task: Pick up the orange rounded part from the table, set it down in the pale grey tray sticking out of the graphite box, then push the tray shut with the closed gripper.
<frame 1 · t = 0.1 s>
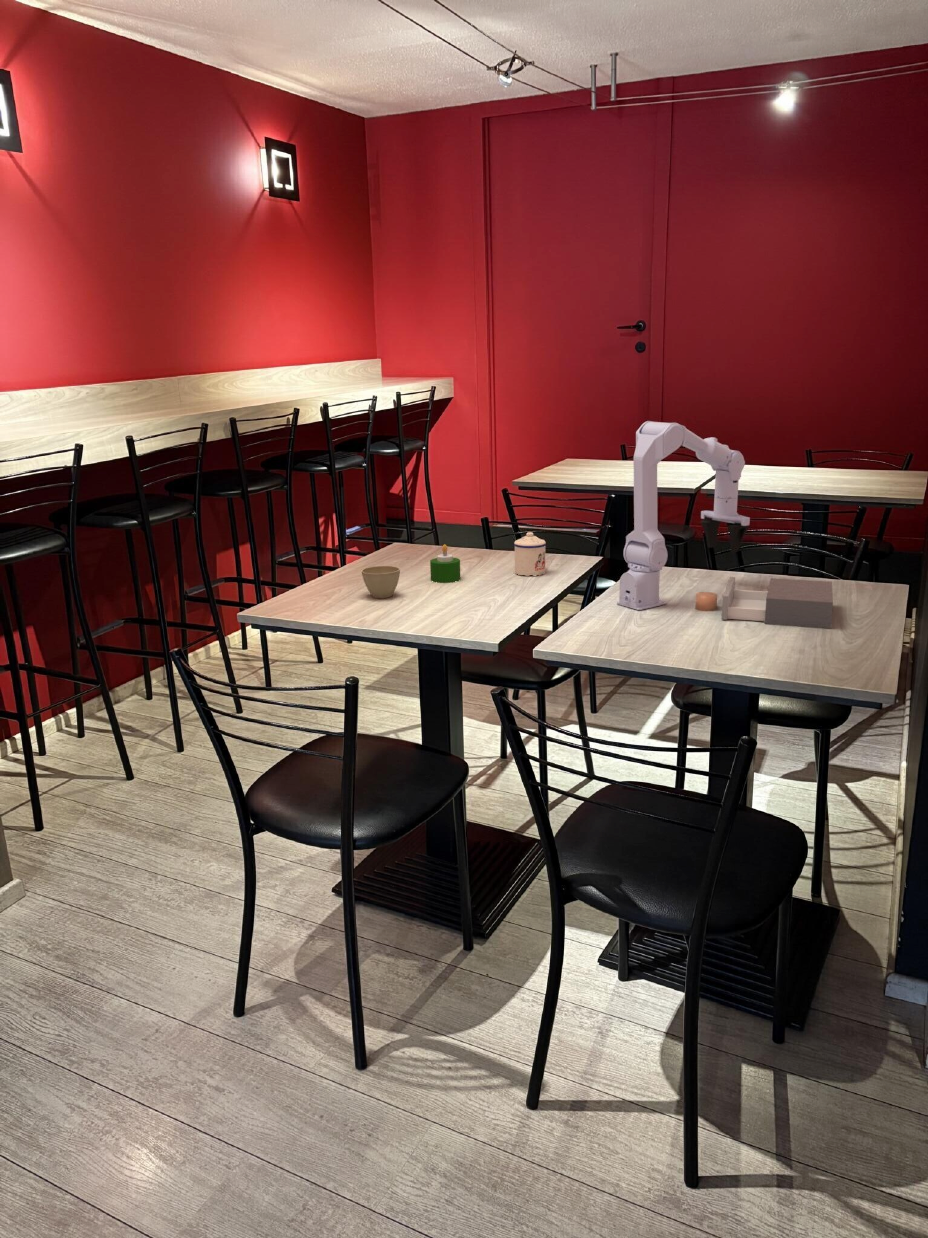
hand: (723, 549, 243), 10 cm above the table, tool pointing down, fingers open, 7 cm apart
bowl: (382, 596, 245), on the table
tray: (752, 599, 222), point 3 cm above the table, slide at 8.0 cm
orange rounded part: (705, 608, 226), on the table
candle: (445, 580, 261), on the table
teacup with lid: (531, 572, 267), on the table
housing: (793, 614, 220), on the table
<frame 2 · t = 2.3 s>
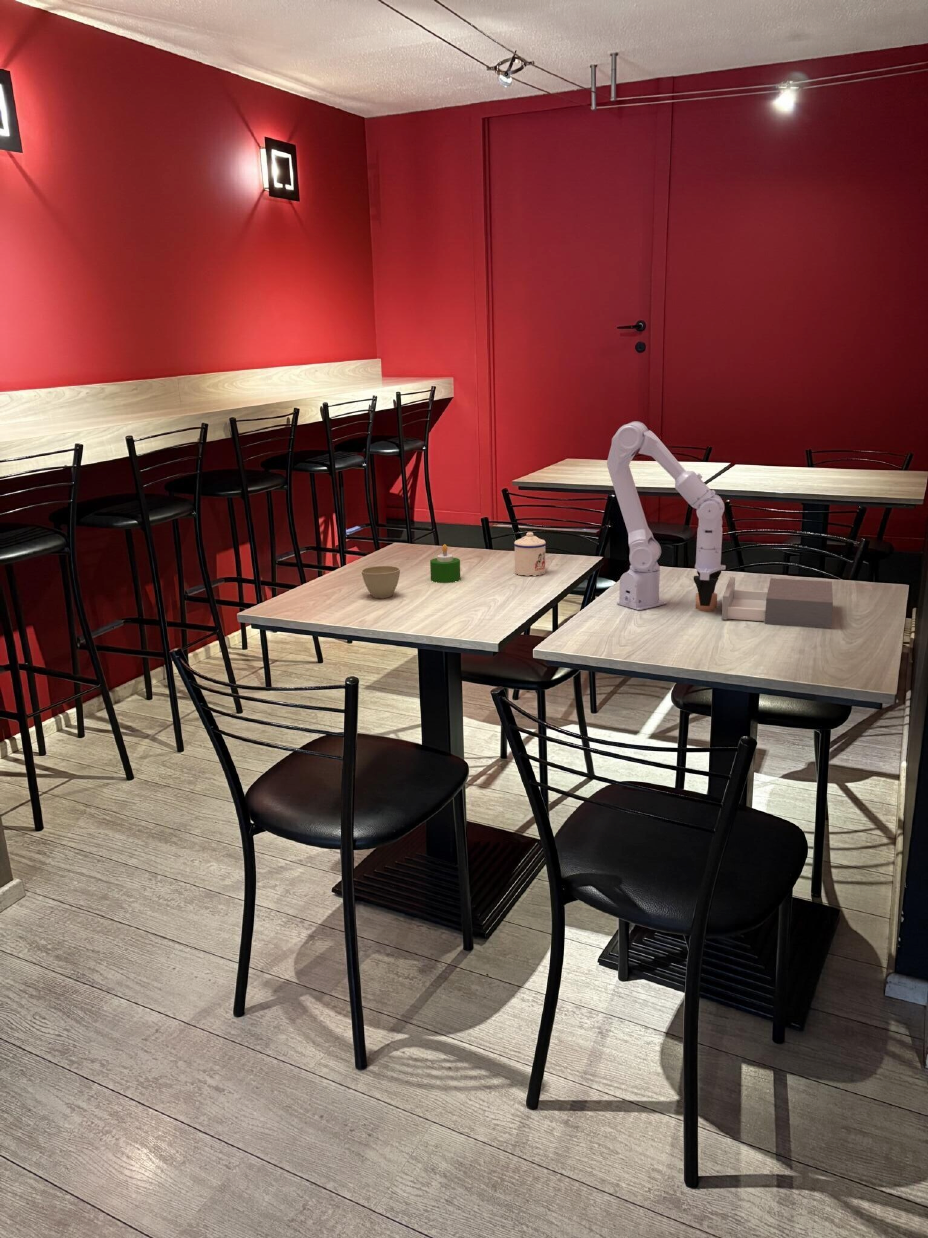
hand: (706, 602, 226), 1 cm above the table, tool pointing down, fingers closed on orange rounded part, 5 cm apart
orange rounded part: (705, 608, 226), on the table, touching gripper
everything else where it was.
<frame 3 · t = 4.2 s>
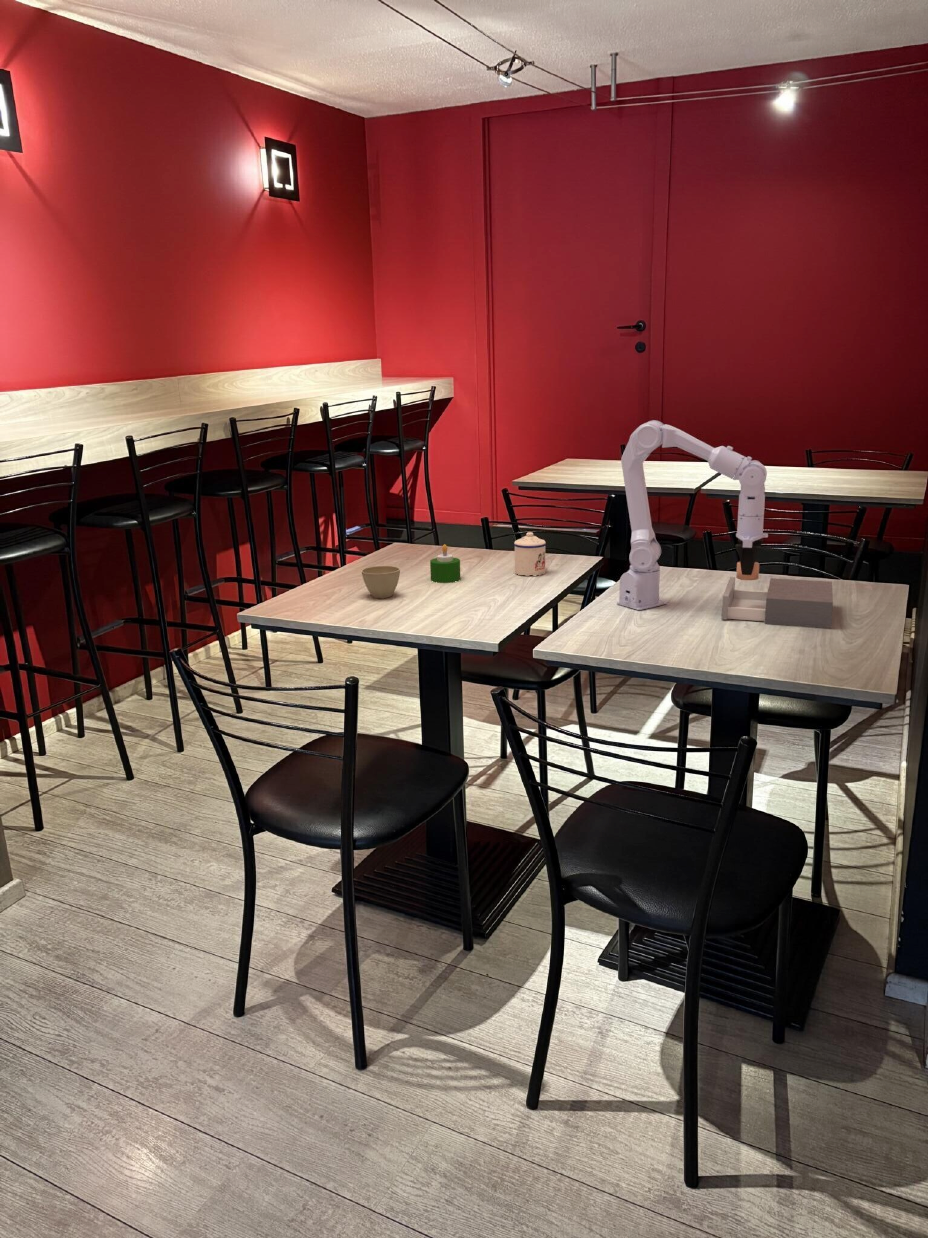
hand: (747, 571, 221), 10 cm above the table, tool pointing down, fingers closed on orange rounded part, 5 cm apart
orange rounded part: (747, 577, 221), point 8 cm above the table, touching gripper
everything else where it was.
when the fingers open (4 cm above the table, at t = 5.9 s): orange rounded part drops 1 cm, resting on tray.
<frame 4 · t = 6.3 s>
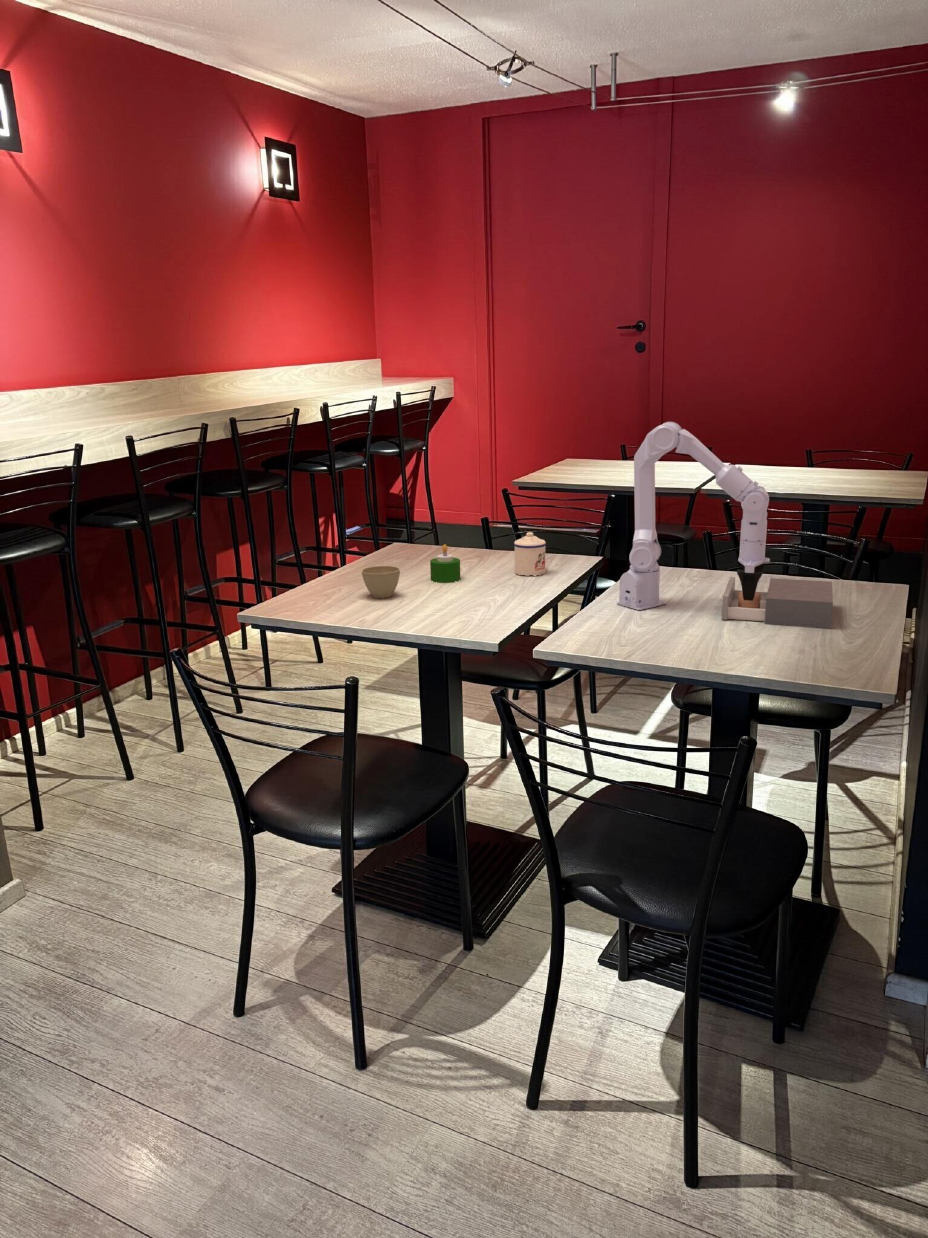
hand: (749, 596, 222), 4 cm above the table, tool pointing down, fingers open, 7 cm apart
tray: (752, 599, 222), point 3 cm above the table, slide at 8.0 cm, touching orange rounded part
orange rounded part: (748, 608, 223), point 1 cm above the table, touching tray
everything else where it was.
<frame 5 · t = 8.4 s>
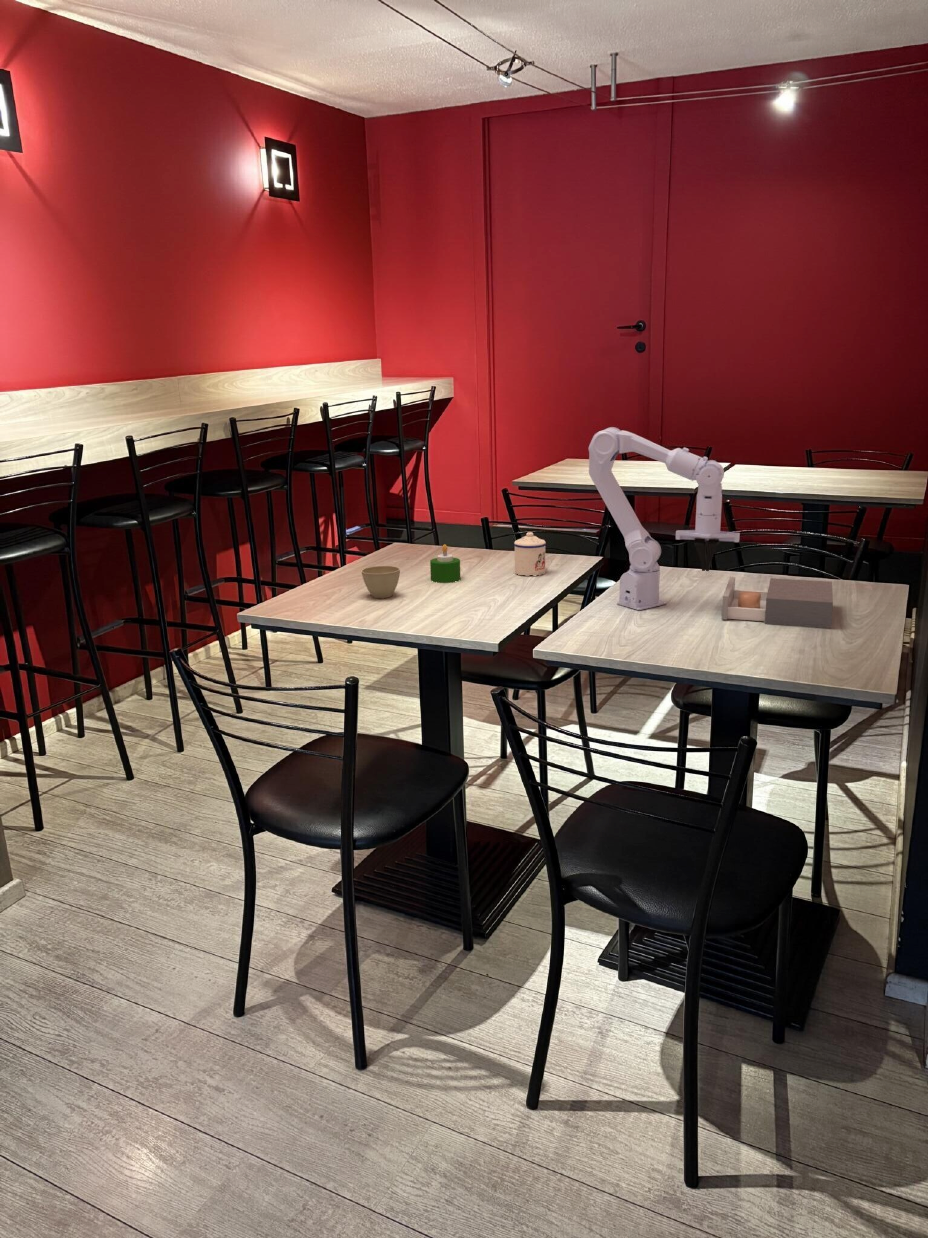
hand: (705, 570, 224), 9 cm above the table, tool pointing down, fingers closed
nothing on the table moved.
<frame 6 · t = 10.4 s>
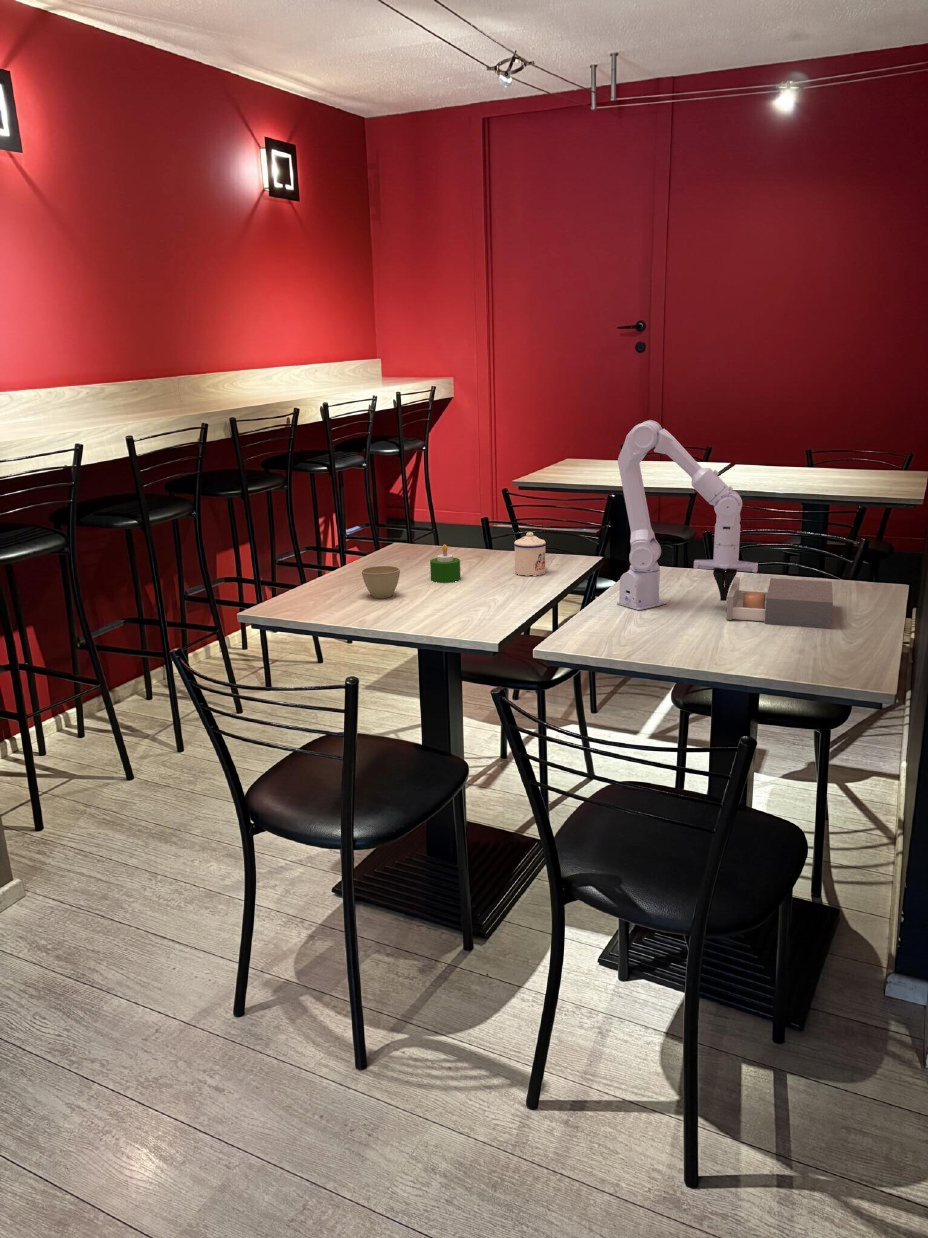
hand: (723, 599, 224), 2 cm above the table, tool pointing down, fingers closed
tray: (757, 599, 222), point 3 cm above the table, slide at 6.9 cm, touching orange rounded part, gripper
orange rounded part: (753, 608, 222), point 1 cm above the table, touching tray
everything else where it was.
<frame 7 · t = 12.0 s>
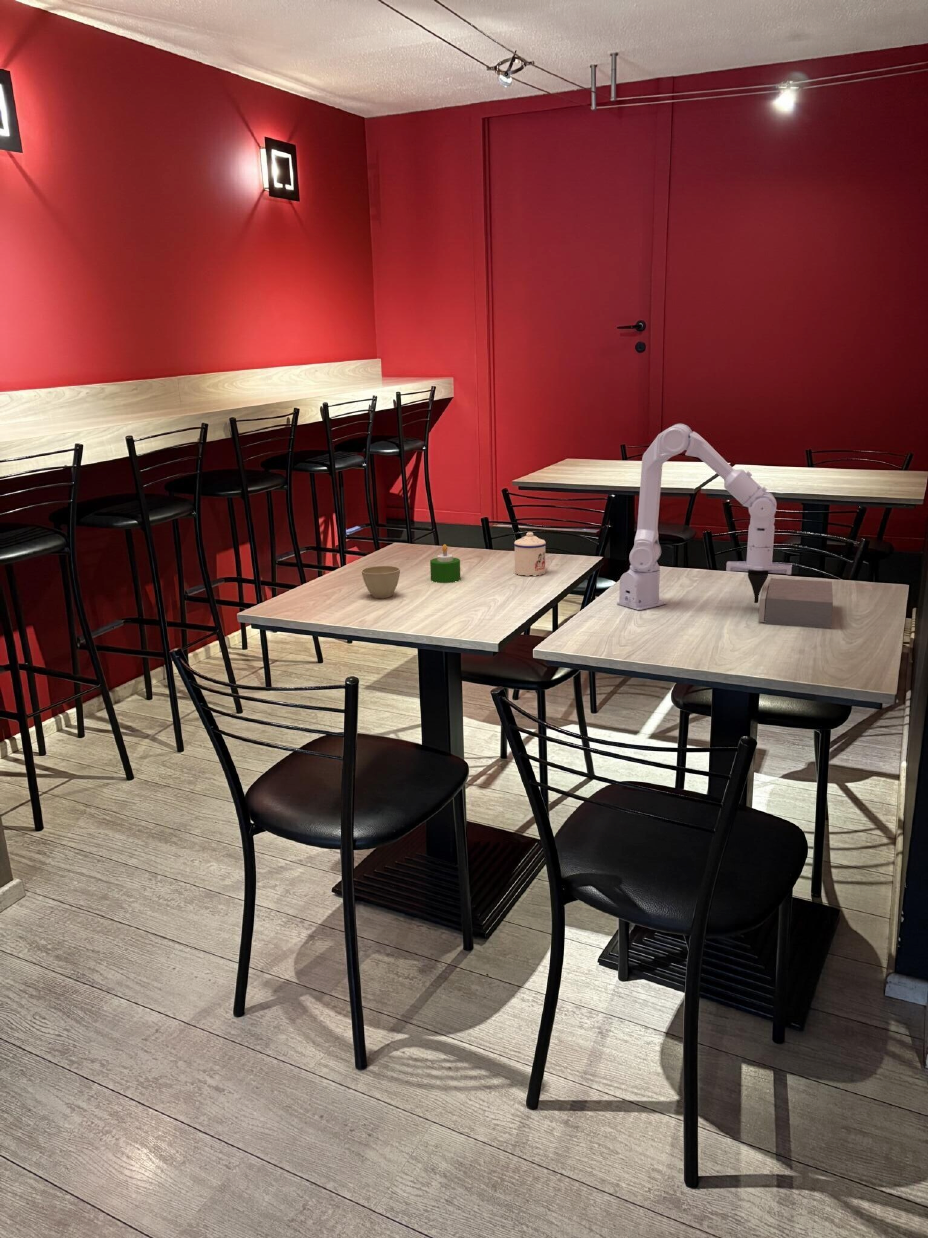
hand: (756, 601, 222), 2 cm above the table, tool pointing down, fingers closed
tray: (788, 601, 219), point 3 cm above the table, slide at -0.1 cm, touching orange rounded part, gripper
orange rounded part: (784, 610, 220), point 1 cm above the table, touching tray
everything else where it was.
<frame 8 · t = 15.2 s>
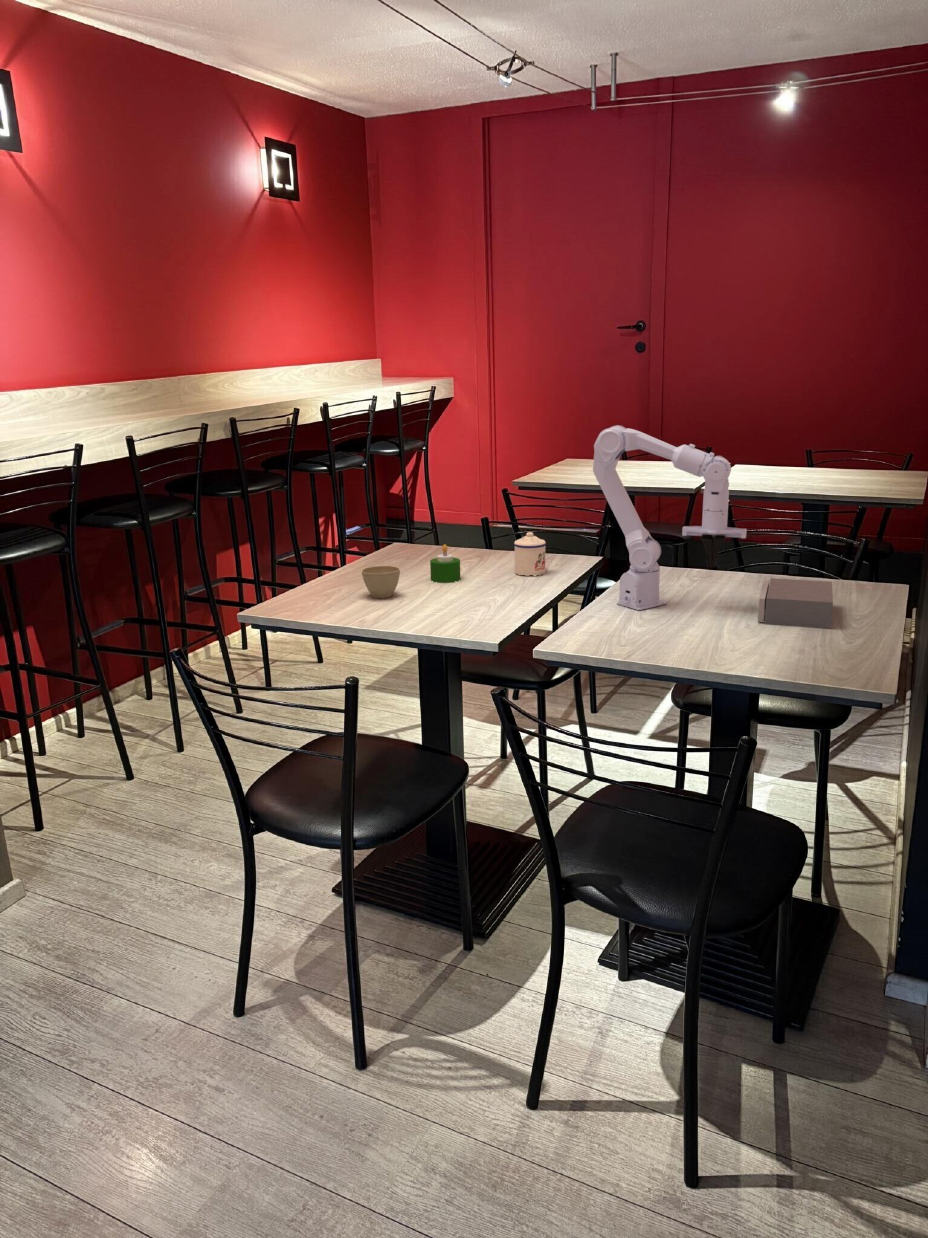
hand: (712, 566, 223), 10 cm above the table, tool pointing down, fingers closed
tray: (787, 601, 219), point 3 cm above the table, slide at 0.0 cm, touching orange rounded part
everything else where it was.
at the end: tray slide at 0.0 cm; orange rounded part 2.1 cm from the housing (horizontally); orange rounded part point 0.8 cm above the table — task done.
